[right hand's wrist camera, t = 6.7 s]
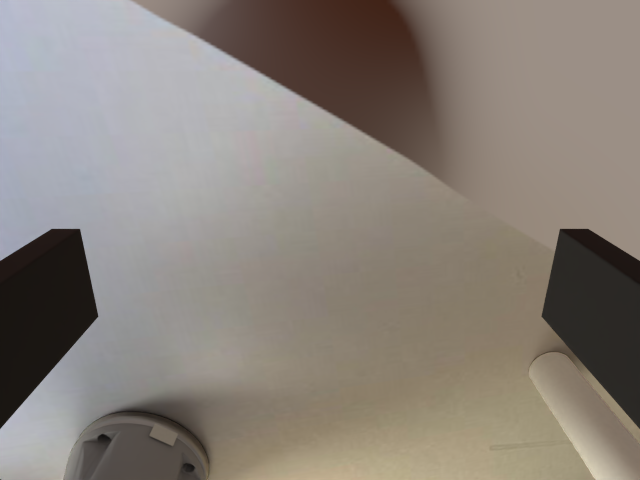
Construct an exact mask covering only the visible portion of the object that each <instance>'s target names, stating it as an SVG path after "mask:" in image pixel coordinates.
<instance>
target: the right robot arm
mask: <svg viewBox="0 0 640 480" xmlns="http://www.w3.org/2000/svg"><path fill="white" fill-rule="evenodd" d="M97 317H98V312H97V308H96V303H95V298H94V293H93V289H92V284H91V279H90V274H89V270H88V265H87V260H86V255H85V251H84V246H83V241H82V237H81V232H80V229H51V230H49V231H48V232H46V233H45V234H43V235H41V236H40V237H38V238H37V239H35V240H33V241H32V242H30V243H29V244H27V245H25V246H24V247H22V248H20V249H19V250H17V251H16V252H14V253H12V254H11V255H9V256H8V257H6V258H4V259H3V260H1V261H0V428H1V427H2V426H3V425H4V424H5V423H6V422H7V420H8V419H9V418H10V417H11V416H12V415H13V414H14V412H15V411H16V410H17V409H18V408H19V407H20V406H21V404H22V403H23V402H24V401H25V400H26V399H27V398H28V396H29V395H30V394H31V393H32V392H33V391H34V389H35V388H36V387H37V386H38V385H39V384H40V383H41V381H42V380H43V379H44V378H45V377H46V376H47V375H48V373H49V372H50V371H51V370H52V369H53V368H54V367H55V365H56V364H57V363H58V362H59V361H60V360H61V359H62V357H63V356H64V355H65V354H66V353H67V352H68V351H69V349H70V348H71V347H72V346H73V345H74V344H75V343H76V341H77V340H78V339H79V338H80V337H81V336H82V335H83V333H84V332H85V331H86V330H87V329H88V328H89V327H90V325H91V324H92V323H93V322H94V321H95V320H96V319H97ZM542 317H543V319H544V320H545V321H546V322H547V323H548V324H549V325H550V327H551V328H552V329H553V330H554V331H555V332H556V333H557V335H558V336H559V337H560V338H561V339H562V340H563V341H564V343H565V344H566V345H567V346H568V347H569V348H570V349H571V351H572V352H573V353H574V354H575V355H576V356H577V357H578V359H579V360H580V361H581V362H582V363H583V364H584V365H585V367H586V368H587V369H588V370H589V371H590V372H591V373H592V375H593V376H594V377H595V378H596V379H597V380H598V381H599V383H600V384H601V385H602V386H603V387H604V388H605V389H606V391H607V392H608V393H609V394H610V395H611V396H612V398H613V399H614V400H615V401H616V402H617V403H618V404H619V406H620V407H621V408H622V409H623V410H624V411H625V412H626V414H627V415H628V416H629V417H630V418H631V419H632V420H633V422H634V423H635V424H636V425H637V426H638V427H639V428H640V261H639V260H637V259H636V258H634V257H632V256H631V255H629V254H628V253H626V252H624V251H623V250H621V249H620V248H618V247H616V246H615V245H613V244H611V243H610V242H608V241H607V240H605V239H603V238H602V237H600V236H599V235H597V234H595V233H594V232H592V231H590V230H589V229H560V232H559V237H558V241H557V246H556V251H555V255H554V260H553V265H552V270H551V274H550V279H549V284H548V289H547V293H546V298H545V303H544V308H543V312H542ZM208 473H209V464H208V459H207V455H206V453H205V451H204V449H203V447H202V446H201V444H200V443H199V441H198V440H197V439H196V438H195V437H194V436H193V435H192V434H191V433H190V432H189V431H188V430H186V429H185V428H183V427H182V426H180V425H179V424H177V423H175V422H173V421H171V420H169V419H166V418H164V417H161V416H158V415H154V414H149V413H143V412H121V413H115V414H111V415H108V416H105V417H102V418H100V419H98V420H96V421H95V422H93V423H92V424H90V425H89V426H88V427H87V428H86V429H85V430H84V431H83V432H82V434H81V435H80V437H79V439H78V440H77V442H76V443H75V445H74V446H73V448H72V450H71V452H70V456H69V458H68V462H67V466H66V471H65V475H64V479H63V480H207V478H208ZM0 480H1V479H0Z"/></svg>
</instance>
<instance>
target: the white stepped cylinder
mask: <svg viewBox="0 0 640 480" xmlns="http://www.w3.org/2000/svg"><path fill="white" fill-rule="evenodd" d="M529 377H530V379H531V381H532V382H533V384H534V385H535V387H536V388H537V390H538V391H539V393H540V394H541V396H542V398H543V399H544V401H545V402H546V404H547V405H548V407H549V408H550V410H551V411H552V413H553V415H554V416H555V418H556V419H557V421H558V422H559V424H560V425H561V427H562V428H563V430H564V432H565V433H566V435H567V436H568V438H569V439H570V441H571V442H572V444H573V446H574V447H575V449H576V450H577V452H578V453H579V455H580V456H581V458H582V459H583V461H584V463H585V464H586V466H587V467H588V469H589V470H590V472H591V473H592V475H593V476H594V478H595V480H640V444H639V443H638V441H637V440H636V439H635V438H634V437H633V435H632V434H631V433H630V432H629V431H628V429H627V428H626V427H625V426H624V424H623V423H622V422H621V421H620V420H619V418H618V417H617V416H616V415H615V413H614V412H613V411H612V410H611V409H610V407H609V406H608V405H607V404H606V402H605V401H604V400H603V399H602V398H601V396H600V395H599V394H598V393H597V391H596V390H595V389H594V388H593V387H592V385H591V384H590V383H589V382H588V381H587V379H586V378H585V377H584V376H583V374H582V373H581V372H580V371H579V370H578V368H577V367H576V366H575V365H574V363H573V362H572V361H571V360H570V359H569V357H568V356H566V355H565V354H562V353H559V352H549V353H545V354H543V355H541V356H539V357H537V358H536V359H535V360H534V361H533V362H532V364H531V365H530V368H529Z"/></svg>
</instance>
